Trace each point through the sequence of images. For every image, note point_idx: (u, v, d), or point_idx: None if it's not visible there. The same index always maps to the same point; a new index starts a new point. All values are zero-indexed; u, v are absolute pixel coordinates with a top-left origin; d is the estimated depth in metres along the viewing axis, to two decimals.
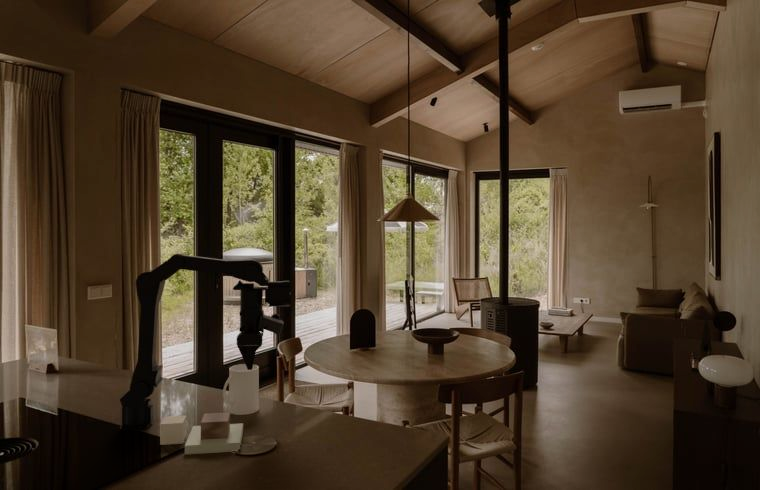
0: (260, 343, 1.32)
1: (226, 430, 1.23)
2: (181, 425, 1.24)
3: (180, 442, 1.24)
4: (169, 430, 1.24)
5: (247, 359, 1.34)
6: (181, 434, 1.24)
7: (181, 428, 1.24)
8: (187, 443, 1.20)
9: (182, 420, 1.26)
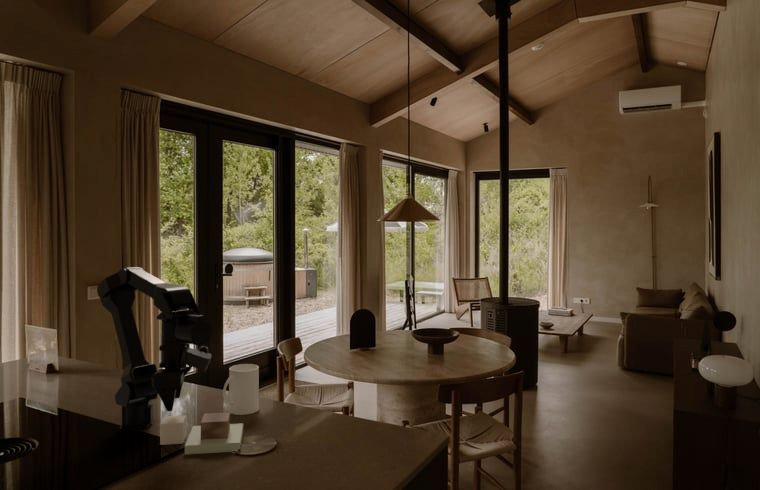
0: (178, 383, 1.18)
1: (226, 430, 1.23)
2: (181, 425, 1.24)
3: (180, 442, 1.24)
4: (169, 430, 1.24)
5: (166, 400, 1.21)
6: (181, 434, 1.24)
7: (181, 428, 1.24)
8: (187, 443, 1.20)
9: (182, 420, 1.26)
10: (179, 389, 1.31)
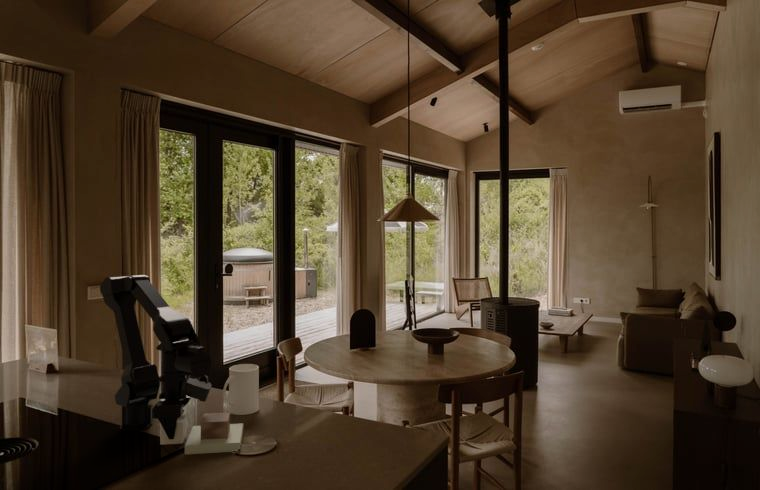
0: (178, 415, 1.18)
1: (226, 430, 1.23)
2: (181, 425, 1.24)
3: (180, 442, 1.24)
4: None
5: (167, 428, 1.23)
6: (181, 434, 1.24)
7: (181, 428, 1.24)
8: (187, 443, 1.20)
9: (182, 420, 1.26)
10: None
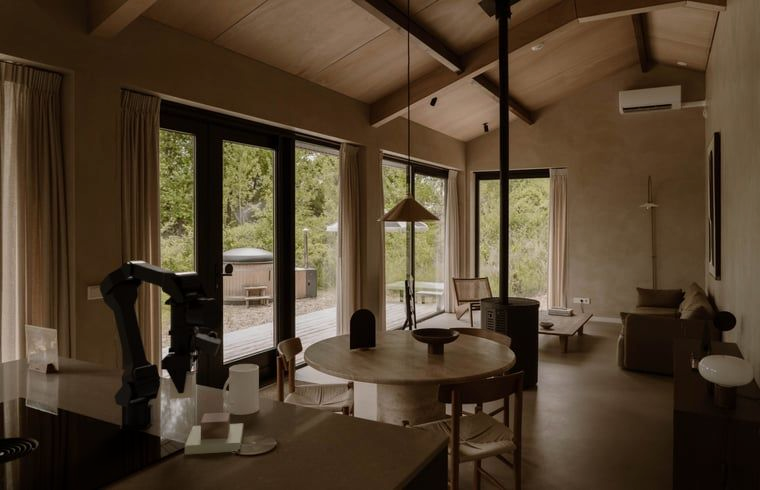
0: (188, 367, 1.17)
1: (226, 430, 1.23)
2: (191, 379, 1.24)
3: (190, 396, 1.24)
4: None
5: (177, 382, 1.22)
6: (191, 388, 1.24)
7: (191, 382, 1.24)
8: (187, 443, 1.20)
9: (192, 374, 1.25)
10: None
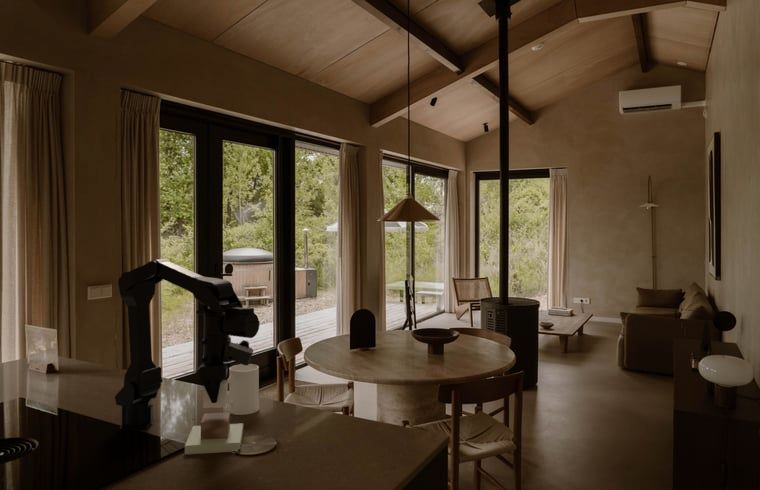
0: (224, 377, 1.17)
1: (226, 430, 1.23)
2: (224, 388, 1.23)
3: (223, 405, 1.23)
4: None
5: (211, 391, 1.21)
6: (224, 397, 1.23)
7: (224, 391, 1.23)
8: (187, 443, 1.20)
9: (224, 383, 1.25)
10: None
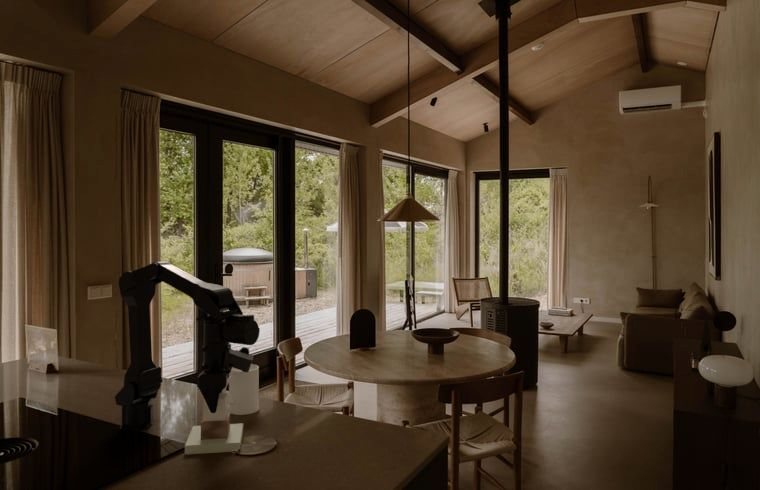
0: (224, 384, 1.17)
1: (226, 430, 1.23)
2: (224, 401, 1.23)
3: (223, 419, 1.23)
4: None
5: (210, 401, 1.19)
6: (224, 410, 1.23)
7: (224, 404, 1.23)
8: (187, 443, 1.20)
9: (224, 397, 1.25)
10: (220, 391, 1.30)
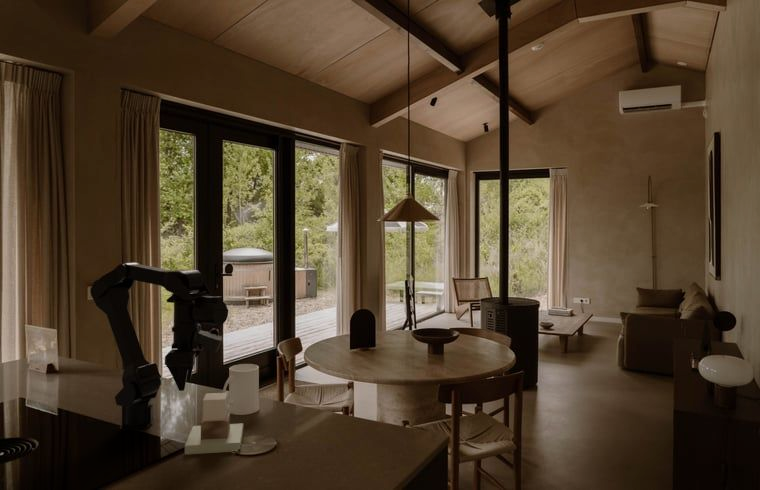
0: (191, 363, 1.21)
1: (226, 430, 1.23)
2: (224, 401, 1.23)
3: (223, 419, 1.23)
4: (212, 406, 1.23)
5: (178, 379, 1.24)
6: (224, 410, 1.23)
7: (224, 404, 1.23)
8: (187, 443, 1.20)
9: (224, 397, 1.25)
10: (190, 370, 1.34)
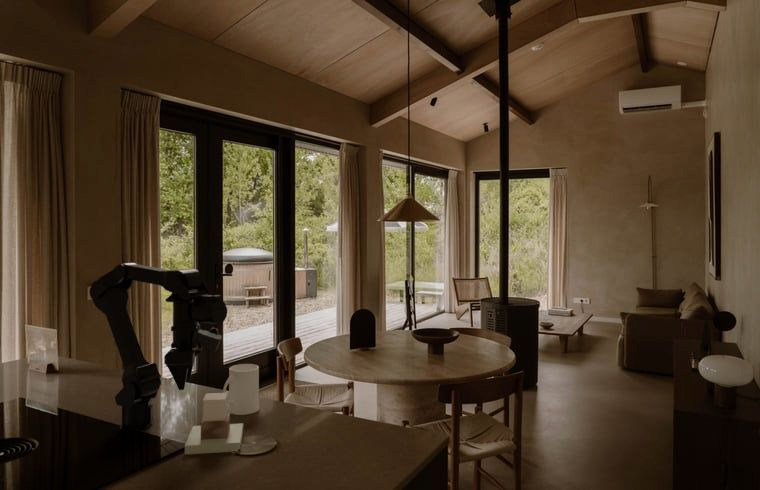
0: (190, 361, 1.21)
1: (226, 430, 1.23)
2: (224, 401, 1.23)
3: (223, 419, 1.23)
4: (212, 406, 1.23)
5: (178, 378, 1.24)
6: (224, 410, 1.23)
7: (224, 404, 1.23)
8: (187, 443, 1.20)
9: (224, 397, 1.25)
10: (190, 370, 1.34)
